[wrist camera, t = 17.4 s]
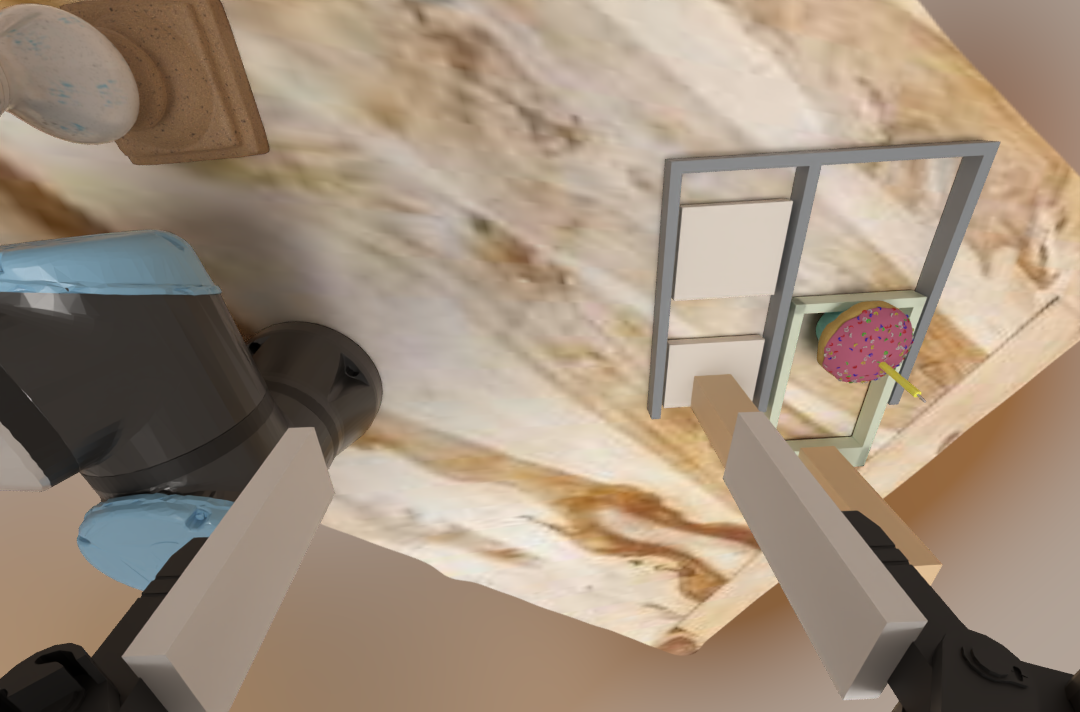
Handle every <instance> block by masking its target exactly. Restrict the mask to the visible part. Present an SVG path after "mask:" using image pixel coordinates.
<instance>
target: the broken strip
mask: <svg viewBox="0 0 1080 712" xmlns="http://www.w3.org/2000/svg"><path fill="white" fill-rule="evenodd" d="M792 204H793V201H791V200H789V199H774V200H758V201H741V202H725V203H708V204H692V205H679V216H678V227H677V238H676V249H675V260H674V271H673V282H672V294H671V298H672V299H673V300H674V301H680V300H697V299H713V298H730V297H746V296H763V295H774V292H775V288H776V283H777V278H778V273H779V268H780V263H781V258H782V253H783V248H784V243H785V239H786V234H787V229H788V224H789V219H790V214H791V209H792ZM764 341H765V339H764V338H763V337H762V336H761V335H745V336H729V337H712V338H696V339H679V340H667V349H666V361H665V372H664V383H663V394H662V405H663V407H664V408H672V407H689V406H690V407H691V408H692V410H693V412H694V414H695V416H696V417H697V419H698V421H699V423H700V425H701V427H702V428H703V430H704V432H705V434H706V436H707V437H708V439H709V441H710V443H711V445H712V446H713V448H714V450H715V452H716V454H717V455H718V457H719V459H720V461H721V463H722V465H723V466H724V468H726V463H727V459H728V455H729V450H730V446H731V442H732V437H733V433H734V429H735V424H736V420H737V416H738V412H760V411H759V410H758V409H757V407H756V406H755V405H754V403H753V402H752V400H753V395H754V391H755V386H756V381H757V376H758V371H759V366H760V361H761V356H762V351H763V346H764Z"/></svg>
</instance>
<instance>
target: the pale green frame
mask: <svg viewBox="0 0 1080 712" xmlns="http://www.w3.org/2000/svg"><path fill="white" fill-rule="evenodd" d="M926 299H927V297H926V296H924V295H922V294H920V293H917V292H915V291H913V290H905V291H888V292H872V293H855V294H839V295H822V296H806V297H792V299H791V303H790V308H789V312H788V317H787V321H786V326H785V330H784V335H783V339H782V343H781V348H780V352H779V357H778V361H777V366H776V370H775V375H774V379H773V384H772V388H771V392H770V397H769V401H768V406H767V410H766V412H763V413H764V414H765V415H766V417H767V418H768V419H769V420H770V422H771V423H772V424H773V426H774V427H775V428H777V423H778V419H779V415H780V411H781V407H782V403H783V399H784V395H785V390H786V386H787V382H788V378H789V374H790V370H791V366H792V362H793V357H794V353H795V349H796V345H797V341H798V337H799V333H800V329H801V324H802V320H803V316H804V314H808V313H825V312H841V311H845V310H847V309H849V308H850V307H851V306H853V305H855V304H857V303H860V302H864V301H884V302H887V303H889V304H891V305H893V306H895V307H897V308H898V309H900V310H901V311H902V312H903V313H904V314H905V315H908V318H910V322H911V324H912V328H914V331H915V328H916V326H917V323H918V320H919V318H920V315H921V312H922V310H923V307H924V304H925V302H926ZM912 330H913V329H912ZM914 331H913V334H914ZM902 363H903V362H902ZM902 363H901V364H900V366H898V367H896V369H895V371H896V372H898V373H899V371H900V368H901V366H902ZM875 380H876V379H875ZM875 380H871V383H870V386H869V389H868V392H867V395H866V398H865V401H864V404H863V406H862V409H861V412H860V415H859V418H858V421H857V424H856V427H855V430H854V432H853V435H852V437H839V438H823V439H806V440H790V441H786V442H787V443H788V445H789V446H790V447H791V448H792V450H793V451H794V452H795V453H796V455H797V456H798V457H799V458H800V460H801V461H802V462H803V464H804V465H805V466H806V467H807V469H808V470H809V471H810V472H811V474H812V475H813V476H814V477H815V479H816V480H817V481H818V483H819V484H820V485H821V486H822V488H823V489H824V490H825V491H826V493H827V494H828V495H829V496H830V498H831V499H832V500H833V502H834V503H835V504H836V505H837V507H838V508H839V509H840V510H841V511H855V510H858V511H859V512H861V513H862V514H863V515H865V516H866V517H867V518H869V519H870V520H872V521H873V522H874V523H876V524H877V525H878V526H880V527H881V529H882V530H883V531H884V532H885V533H886V534H887V536H888V537H889V538H890V539H891V540H892V542H893V543H894V544H895V547H896V549H899V550H900V551H901V552H902V553H903V554H904V556H905V557H906V558H907V559H908V560H909V561H908V562H909V564H912V565H913V566H914V567H915V568H916V570H917V571H918V572H919V573H920V574H921V576H922V577H923V578H924V579H925V580H926V581H927V583H928V584H929V585H930V586H931V584H932V583H933V581H934V579H935V577H936V575H937V574H938V572H939V570H940V568H941V566H942V563H941V562H940V561H939V560H938V559H937V558H936V557H935V556H934V554H933V553H932V552H931V551H930V550H929V549H928V548H927V547H926V546H925V545H924V543H923V542H922V541H921V540H920V539H919V538H918V537H917V536H916V535H915V534H914V533H913V531H912V530H911V529H910V528H909V527H908V526H907V525H906V524H905V523H904V522H903V521H902V519H901V518H900V517H899V516H898V515H897V514H896V513H895V512H894V511H893V510H892V508H891V507H890V506H889V505H888V504H887V503H886V502H885V501H884V500H883V499H882V498H881V496H880V495H879V494H878V493H877V492H876V491H875V490H874V489H873V488H872V487H871V485H870V484H869V483H868V482H867V481H866V480H865V479H864V478H863V477H862V476H861V475H860V473H859V472H858V471H857V470H856V469H855V468H854V467H856V466H864V464H865V461H866V459H867V456H868V453H869V451H870V448H871V445H872V443H873V440H874V437H875V435H876V432H877V429H878V427H879V424H880V422H881V419H882V416H883V414H884V411H885V408H886V406H887V403H888V400H889V398H890V395H891V392H892V390H893V387H894V384H895V382H896V381H895V380H894V379H893V378H892V377H890V376H889V375H888V374H886V375H885V376H884V377H881V378H880V380H879V379H878V380H876V381H875Z"/></svg>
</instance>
